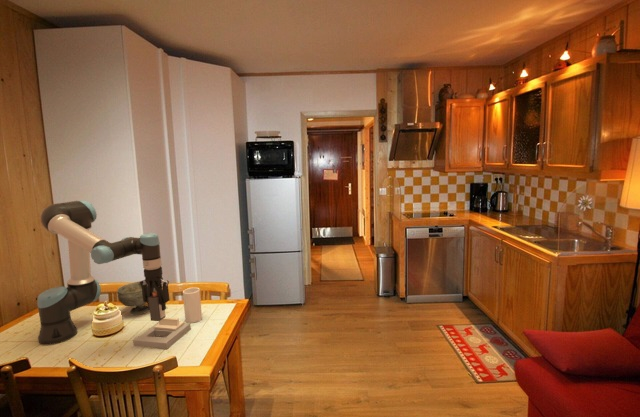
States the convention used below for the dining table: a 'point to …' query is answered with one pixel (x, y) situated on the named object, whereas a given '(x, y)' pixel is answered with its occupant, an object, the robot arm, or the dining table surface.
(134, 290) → the bowl
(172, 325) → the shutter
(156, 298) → the dark grey bottle
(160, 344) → the socket board
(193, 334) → the dining table surface
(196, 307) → the cup
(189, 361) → the dining table surface
